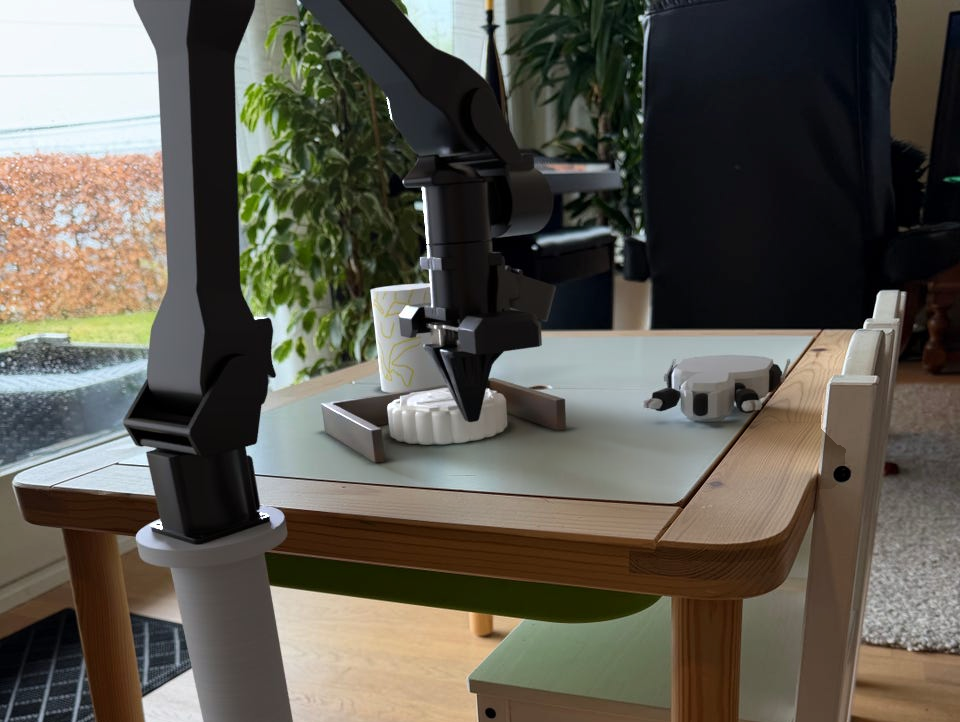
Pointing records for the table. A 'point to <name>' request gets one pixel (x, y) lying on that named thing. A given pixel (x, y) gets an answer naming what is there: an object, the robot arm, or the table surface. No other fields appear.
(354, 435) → the frame
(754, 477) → the table surface
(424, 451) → the table surface
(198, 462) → the robot arm
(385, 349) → the cup
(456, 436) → the mooncake
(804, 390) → the table surface
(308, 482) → the table surface
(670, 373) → the robot toy
